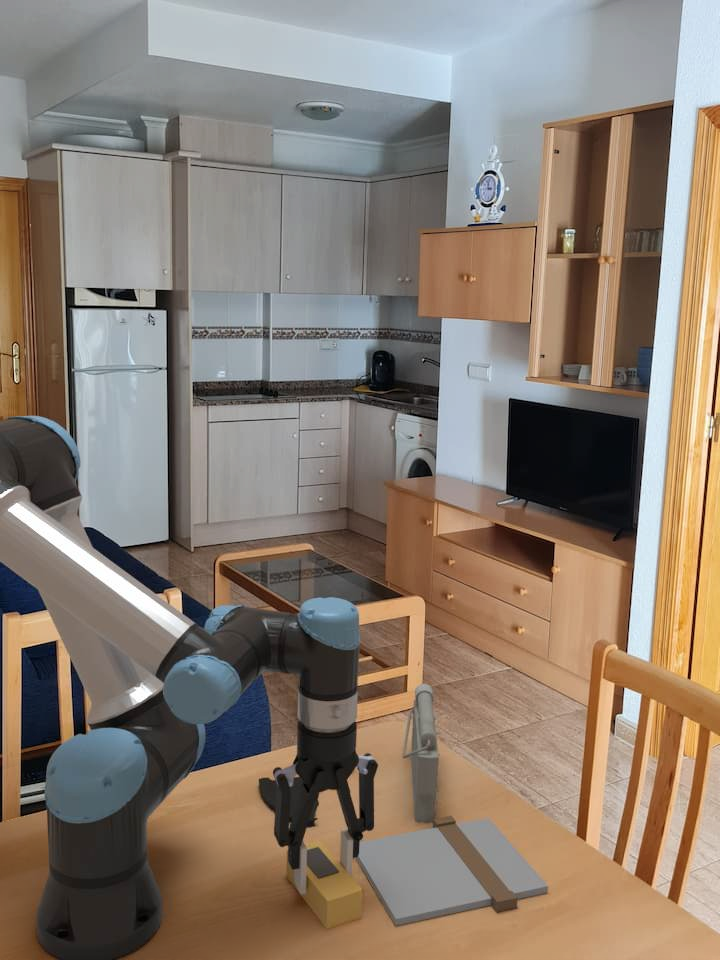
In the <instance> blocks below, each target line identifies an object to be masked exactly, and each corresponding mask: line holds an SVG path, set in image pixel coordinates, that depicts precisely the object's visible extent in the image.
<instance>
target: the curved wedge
mask: <svg viewBox="0 0 720 960" xmlns="http://www.w3.org/2000/svg"><path fill="white" fill-rule="evenodd" d="M301 783H302V779H301V778H300V777H299V776H295V777H294V782H293V785H292V786H291V787H290V790H291V802H290V817H289V823H291V821H292V818H293V814H294V811H295V808H296V805H297V802H298V798H299V795H300V792H301ZM276 788H277V784H276V781H275V779H270V777H269V776H267V777H261V778H258V789H259V792H260V796H261V798H262V800H263V801H264V802H265V805H266V806H267V807H268V808H269V809H270V810H271V811H272V812H273V811H274V812H273V813H274V814H275V805H276ZM319 805H320V802H319V799H317V801H315V803H314V806H313V809H312V812H311V816H310V819H309V822H308V825H307V828H306V829H308V828H311V827H315V822H316V821H317V820H318V818H317V817H315V815H316V812H317V809H318V808H319Z"/></svg>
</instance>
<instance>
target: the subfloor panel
mask: <svg viewBox="0 0 720 960" xmlns="http://www.w3.org/2000/svg"><path fill="white" fill-rule="evenodd" d="M456 821H457V820H456V819H455V818H454V817H453V816H452V815H447V816H443V817H437V818H436V817H435V819H433V822H432V827H431V828H428V829H422V830H417V831H411V832H406V833H400V834H395V835H394V834H393V835H389V836H383V837H379V838H372V839H368V840H360V845H359V855H358V857H355V858H354V859H356V861H357V863H358V864H359V867H360V868H361V869H362V872H363V873H364V875H365V877H366V878H367V880H368V882H369V883H370V885H371V887H372V888H373V890H374V891H375V893H376V895H377V897H378V899H379V900H380V901H381V904H382V905H383V907H384V909H385V910H386V912H387V914H388V916H389V917H390V919H391V921H392V923H393V925H394V926H395V927H398V926H402V925H407V924H411V923H415V922H420V921H424V920H428V919H435V918H440V917H444V916H448V915H451V914H457V913H462V912H466V911H470V910H471V911H472V910H474V909H475V910H476V909H479V908H483V907H489V906H490V907H491V908H492V909H493V910H494V911H495V912H496V913H499V912H504V911H508V910H512V909H516V908H518V900H522V899H526V898H529V897H534V896H539V895H543V894H547V893H548V891H549V890H548V889H549V885H548V884H547V883H546V882H545V881H544V879H543V878H542V877H540V875H539V874H538V873H537V872H536V870H535V869H534V868H533V867H532V866H531V865H530V864H529V862H528V861H527V860H526V859H525V858H524V857H523V855H521V853H520V852H519V851H518V850H517V849H516V847H515V846H514V845H513V844H512V843H511V842H510V841H509V839H508V838H507V837H506V836H505V835H504V834H503V832H502V831H501V830H500V829H499V828H498V827H497V826H496V824H495V823H494V822H493V821H492V820H491V819H490V818H489V817H487V818H481V819H476V820H470V821H465V822H459V823H457V822H456Z"/></svg>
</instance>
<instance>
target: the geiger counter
mask: <svg viewBox="0 0 720 960" xmlns="http://www.w3.org/2000/svg"><path fill="white" fill-rule="evenodd" d="M433 703H434V691H433V688H432V686H431V685H429V684H427V683H422V684H418V686H416V688H415V690H414V699H413V709H412V708H411V709H409V712H408V717H407V724H406V730H405V737H404V742H403V747H402V748H403V749H402V758H403V759H407V758H408V757H409V758H410V763H411V781H412V793H413V794H412V796H413V797H412V798H413V810H414V811H413V812H414V813H413V814H414V822H419V823H424V824H426V823H433V819H436V808H437V804H439V805H441V804H442V802H440V801H438V800H437V792H438V793H439V792H440V789H438V777H439V763H440V762H439V758H440V757H439V756H440V753H439V748H438V739H437V735H442V733H441V732H438V731H437V729H436V718H437V716H436V714H435V713H434V707H433ZM412 715H413V716H412ZM411 720H412V728H411V729H412V731H411V747H410V748H411V749H410V752H409V753H407V752H406V751H407V746H408V739H409V733H410V725H411ZM406 753H407V754H406ZM437 789H438V790H437Z"/></svg>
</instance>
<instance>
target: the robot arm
mask: <svg viewBox="0 0 720 960" xmlns="http://www.w3.org/2000/svg"><path fill="white" fill-rule="evenodd" d="M79 468H81V456H80V451H79V448H78V446H77V444H76V442H75V440H74V439H73V437H72V436H71V434H70V433H69V432H68V431H67V430H66V429H65V428H64V427H62V426H61V425H60V424H59V423H57V422H56V421H55V420H51V419H49V418H46V417H43V416H41V415H40V416H39V415H25V416H23V415H22V416H21V415H17V416H10V417H7V418H4V419H0V563H2V564H3V565H4V566H5V567H6V568H9V570H11V571H12V572H13V573H15V574H16V575H18V576H19V577H20V578H22V579H23V580H24V581H26V582H27V583H28V584H30V585H31V586H33V587H34V588H35V589H36V590H37V591H38V593H39V596H40V597H41V599H42V601H43V604H44V605H45V607H46V610H47V612H48V615H49V616H50V618H51V620H52V622H53V624H54V627H55V628H56V630H57V631H56V632H57V633H58V635H59V637H60V639H61V642H62V643H63V646H64V648H65V650H66V652H67V654H68V657H69V658H70V660H71V663H72V665H73V667H74V669H75V671H76V673H77V675H78V677H79V680H80V682H81V684H82V686H83V688H84V690H85V692H86V695H87V696H88V698H89V701H90V703H91V704H90V709H89V711H88V713H87V716H86V723H87V725H88V727H89V730H88V731H87V733H85V734H82V733H77V734H76V735H74V736H71V737H70V738H69V739H67V740H66V741H64V742H63V743H62V744H60V745H59V746H58V747H57V748H56V749H55V751H54V752H53V753H52V755H51V757H50V759H49V761H48V763H47V767H46V776H45V779H46V780H45V785H44V799H45V805H46V820H47V821H46V822H47V826H46V827H47V846H48V861H49V862H48V864H49V866H48V867H49V869H48V870H49V873H48V875H47V878H46V882H45V884H44V888H43V890H42V894H41V897H40V899H39V903H38V906H37V910H36V917H35V919H36V921H35V922H36V935H37V939H38V942H39V944H40V946H41V948H43V949H44V950H45V951H46V952H47V953H48V954H50V955H51V956H53V957H56V958H58V959H61V960H115V959H118V958H121V957H123V956H126V955H128V954H131V953H132V952H134V951H136V950H137V949H139V948H140V947H142V946H144V944H146V943H147V942H148V941H149V940H150V939H152V937H153V936H154V935H155V934H156V933H157V930H158V929H159V927H160V925H161V922H162V918H163V897H162V893H161V890H160V887H159V884H158V883H157V880H156V877H155V875H154V872H153V869H152V867H151V864H150V863H149V860H148V850H147V849H148V847H147V846H148V837H147V834H148V833H147V832H148V831H147V830H148V829H147V825H148V824H147V823H148V820H149V818H150V816H151V815H152V814H154V812H155V810H156V809H157V808H158V807H159V806H160V805H161V804H162V803H163V802H164V800H166V798H168V796H170V795H171V793H172V792H173V791H174V790H175V789H176V788H177V786H178V785H179V784H180V783H182V781H183V780H184V779H186V778H187V777H188V776H189V775H190V774H191V773H192V770H193V769H194V767H195V765H196V763H197V762H198V761H199V759H200V757H201V756H202V753H203V750H204V748H205V743H206V729H205V728H206V726H205V724H209V723H212V722H214V721H215V720H217V719H218V718H220V717H221V716H222V715H223V714H224V713H226V712H227V711H228V710H229V709H231V708H232V707H233V706H234V705H235V704H236V703H237V702H238V700H239V699H240V697H241V695H243V694H244V692H245V691H246V690H247V689H248V688H249V687H250V685H252V684H253V683H254V682H255V681H256V680H257V679H258V677H259V676H260V675H261V674H262V673H263V672H264V671H268V672H273V673H274V672H275V673H281V674H289V675H290V674H292V675H297V679H298V680H297V684H298V685H297V689H298V690H297V691H298V692H297V696H298V697H297V714H296V715H297V719H298V721H297V725H296V726H297V730H296V731H297V733H296V736H297V737H296V755H295V758H294V760H293V761H292V764H291V765H288V766H287V767H285V768H281V767H280V766H277V767H275V768H274V769H273V771H272V774H273V777H274V780H275V781H276V784H277V788H276V805H275V813H274V826H273V835H274V838H275V840H276V842H277V844H278V846H279V847H280V848H284V847H286V846H287V850H288V862H289V864H290V866H291V868H292V870H294V869H295V884H296V886H297V888H298V891H299V892H298V891H297V892H298V894H300V896H301V894H306V868H307V848H306V846H305V845H306V844H305V842H304V838H305V834H306V831H307V829H308V828H307V825H308V822H309V819H310V816H311V812H312V809H313V806H314V803H315V801H317V799H318V798H319V796H320V793H323V792H325V791H328V790H331V791H336V794H337V798H338V801H339V803H340V807H341V811H342V814H343V818H344V822H345V825H346V827H347V828H342V829H340V850H339V851H340V853H339V854H340V855H339V863H340V864H341V865H342V867H343V868H344V869H345V870H346V871H347V872H348V874H349V875H350V876H351V877H352V878H353V863H354V862H353V859H356V858H355V857H358V855H359V845H360V842H361V841H363V839H364V834H363V833H364V832H366V831H368V832H371V831H373V830H374V829H375V777H376V774H377V770H378V767H379V763H378V762H377V761H376V759H375V758H374V757H373V756H372V754H371V753H365V754H363V755H361V754H357V750H356V748H357V735H358V734H357V731H358V730H357V728H358V725H357V722H356V720H357V717H358V697H359V696H358V693H359V692H358V687H359V685H358V683H359V682H358V680H359V663H360V647H361V643H362V642H361V641H362V640H361V635H360V613H359V609H358V608H357V606H356V605H355V604H353V603H352V602H351V601H348V600H346V599H343V598H341V597H340V598H339V597H332V596H329V597H314V598H311V599H307V600H306V601H304V602H302V604H301V605H300V607H299V612H297V613H293V612H285V611H278V610H271V609H262V608H258V607H257V608H256V607H249V606H248V605H241V604H240V605H227V604H225V605H222V604H221V605H218V606H217V607H215V608H214V609H212V611H210V613H209V617H208V618H207V619H206V621H205V624H204V627H202V626H199V624H197V623H196V622H194V621H193V620H192V619H191V618H189V617H188V616H187V615H185V614H183V613H182V612H181V611H180V610H178V609H177V608H175V607H174V606H173V605H171V604H170V603H169V602H167V601H166V600H164V599H163V597H161V596H159V595H157V594H156V593H155V592H154V591H153V590H151V589H150V588H149V587H147V586H145V585H144V584H143V583H142V582H140V581H139V580H137V579H136V578H135V577H134V576H132V575H131V574H129V573H128V572H127V571H125V570H124V569H123V568H121V567H120V566H119V565H117V564H116V563H114V561H112V560H110V559H109V558H108V557H106V556H105V555H103V554H102V553H101V552H100V551H98V550H97V549H95V548H94V547H93V545H92V542H91V540H90V538H89V537H88V535H87V533H86V529H85V528H84V526H83V524H82V521H81V519H80V517H79V515H78V512H79V511H78V510H79V508H80V505H81V503H82V500H83V496H82V494H81V491H80V489H79V487H78V485H77V483H76V482H77V480H78V478H79V476H80V473H79V470H80V469H79ZM356 768H357V770H358V809H359V810H358V812H359V813H358V815H359V817H357V813H356V810H355V805H354V802H353V798H352V795H351V789H350V786H349V783H348V779H349V778H350V777H351V775H352V774H353V772H354V770H355V769H356ZM294 777H300V778H301V779H302V783H301V792H300V795H299V798H298V802H297V805H296V808H295V811H294V814H293V818H292V821H291V822H289V817H290V802H291V790H290V787H291V786H292V785H293V782H294ZM318 800H319V799H318Z"/></svg>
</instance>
